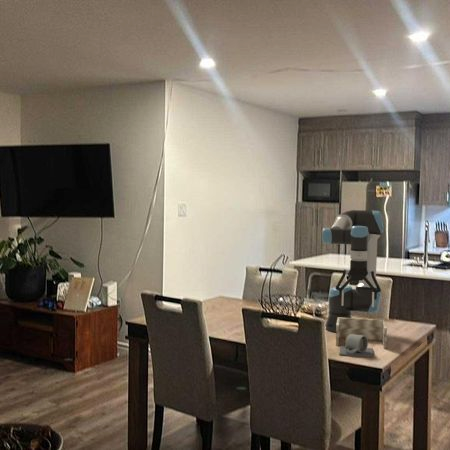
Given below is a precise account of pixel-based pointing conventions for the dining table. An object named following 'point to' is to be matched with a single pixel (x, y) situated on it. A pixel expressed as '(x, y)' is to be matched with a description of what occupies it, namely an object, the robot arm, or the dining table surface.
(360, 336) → the ceramic mug
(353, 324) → the open box
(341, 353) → the rubber mat
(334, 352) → the dining table surface
